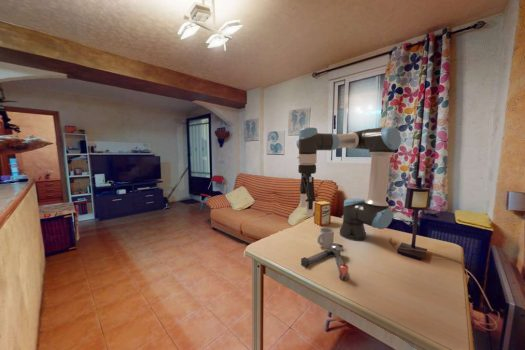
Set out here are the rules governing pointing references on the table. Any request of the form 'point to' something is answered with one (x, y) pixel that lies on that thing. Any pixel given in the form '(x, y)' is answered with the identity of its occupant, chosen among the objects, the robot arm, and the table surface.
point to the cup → (326, 237)
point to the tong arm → (340, 261)
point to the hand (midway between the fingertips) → (306, 211)
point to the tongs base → (317, 257)
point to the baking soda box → (322, 213)
